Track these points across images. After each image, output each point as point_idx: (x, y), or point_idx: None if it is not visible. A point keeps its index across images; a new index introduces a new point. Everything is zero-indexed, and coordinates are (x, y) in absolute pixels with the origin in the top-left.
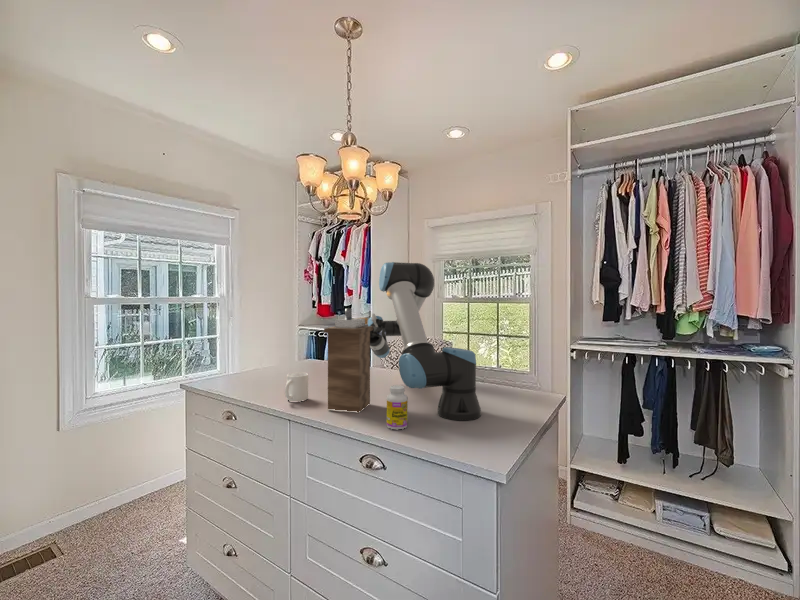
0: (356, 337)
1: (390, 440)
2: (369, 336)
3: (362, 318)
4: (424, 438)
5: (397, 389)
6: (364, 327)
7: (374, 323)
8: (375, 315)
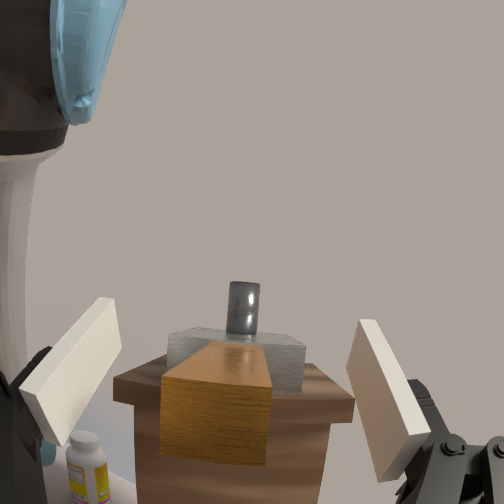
0: None
1: (111, 472)
2: (137, 429)
3: (185, 335)
4: (61, 465)
5: (86, 432)
6: (163, 365)
7: (88, 392)
8: (83, 314)
